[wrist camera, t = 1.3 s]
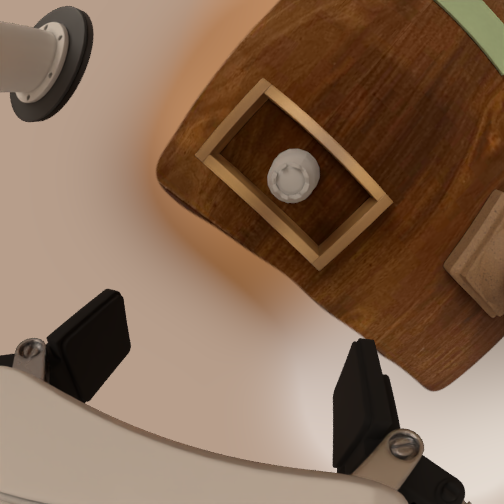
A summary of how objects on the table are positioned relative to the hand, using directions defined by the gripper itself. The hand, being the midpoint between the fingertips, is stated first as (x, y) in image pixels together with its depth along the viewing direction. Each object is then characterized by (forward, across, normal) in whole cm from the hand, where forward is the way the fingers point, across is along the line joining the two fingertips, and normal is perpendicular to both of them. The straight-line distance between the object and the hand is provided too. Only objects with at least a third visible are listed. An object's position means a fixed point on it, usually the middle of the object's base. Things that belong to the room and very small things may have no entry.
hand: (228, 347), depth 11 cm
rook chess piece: (+19, -1, -5) cm, 20 cm away
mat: (+19, -19, -28) cm, 39 cm away
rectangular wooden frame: (+19, -1, -5) cm, 19 cm away
